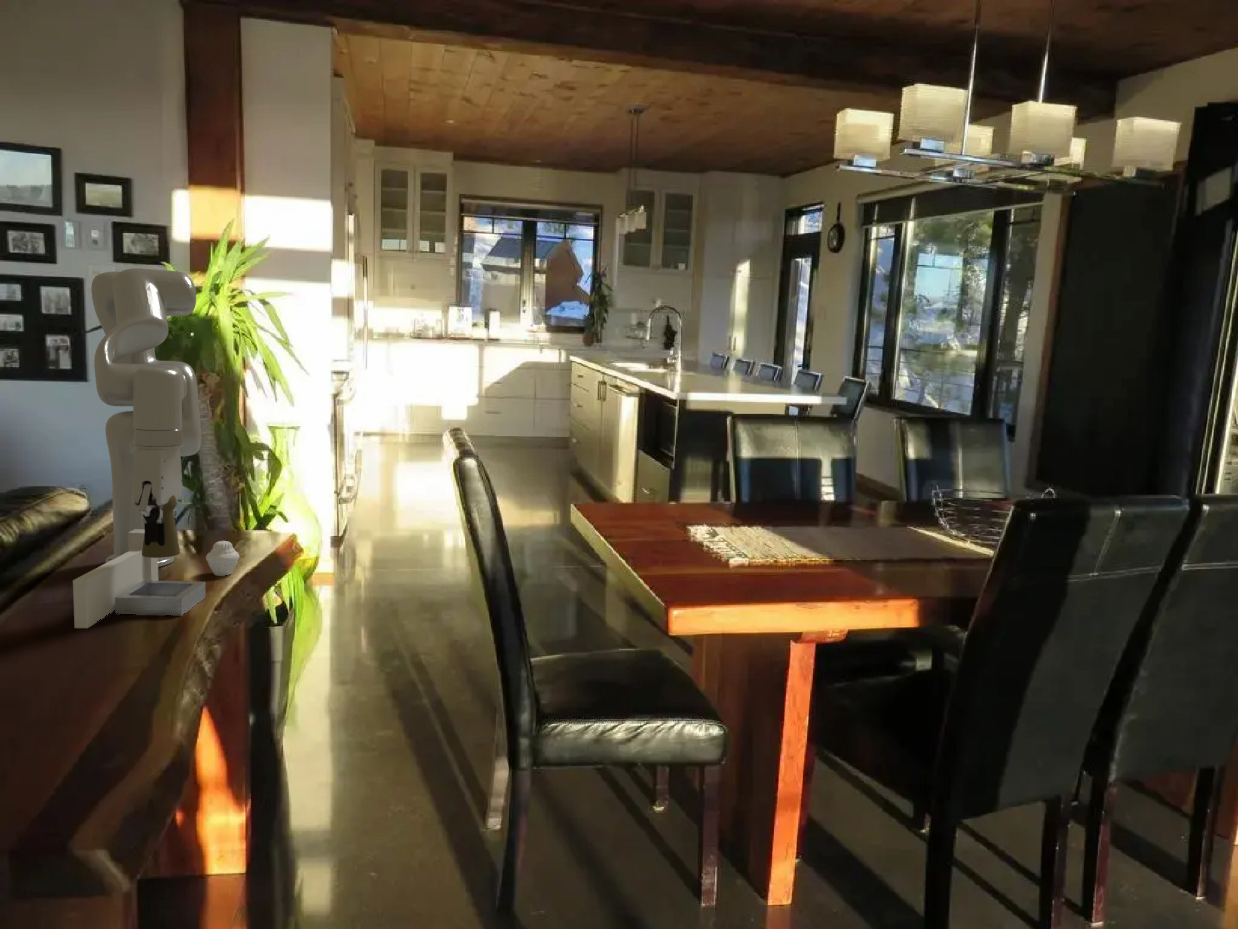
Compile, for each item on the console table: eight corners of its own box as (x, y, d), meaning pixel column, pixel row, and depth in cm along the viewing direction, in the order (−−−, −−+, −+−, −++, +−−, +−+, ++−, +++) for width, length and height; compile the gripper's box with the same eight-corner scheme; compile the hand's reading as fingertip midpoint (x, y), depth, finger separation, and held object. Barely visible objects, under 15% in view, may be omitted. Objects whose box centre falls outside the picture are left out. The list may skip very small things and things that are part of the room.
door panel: (136, 585, 172) (135, 529, 171) (158, 586, 172) (157, 529, 171) (68, 627, 147) (65, 562, 146) (93, 628, 148) (91, 562, 146)
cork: (164, 559, 156) (163, 496, 155) (133, 555, 157) (132, 493, 156) (187, 551, 162) (186, 491, 160) (157, 548, 163) (156, 488, 162)
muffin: (241, 569, 187) (241, 536, 186) (237, 577, 181) (237, 543, 180) (208, 570, 185) (208, 537, 184) (203, 578, 179) (203, 544, 178)
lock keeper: (143, 596, 166) (143, 580, 166) (205, 597, 167) (205, 581, 167) (115, 614, 155) (114, 597, 155) (181, 615, 156) (181, 599, 156)
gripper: (156, 433, 165) (158, 532, 167) (113, 443, 148) (116, 552, 151) (199, 434, 165) (200, 533, 168) (160, 445, 149) (163, 554, 151)
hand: (160, 541), depth 159 cm, fingers closed on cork, 3 cm apart
